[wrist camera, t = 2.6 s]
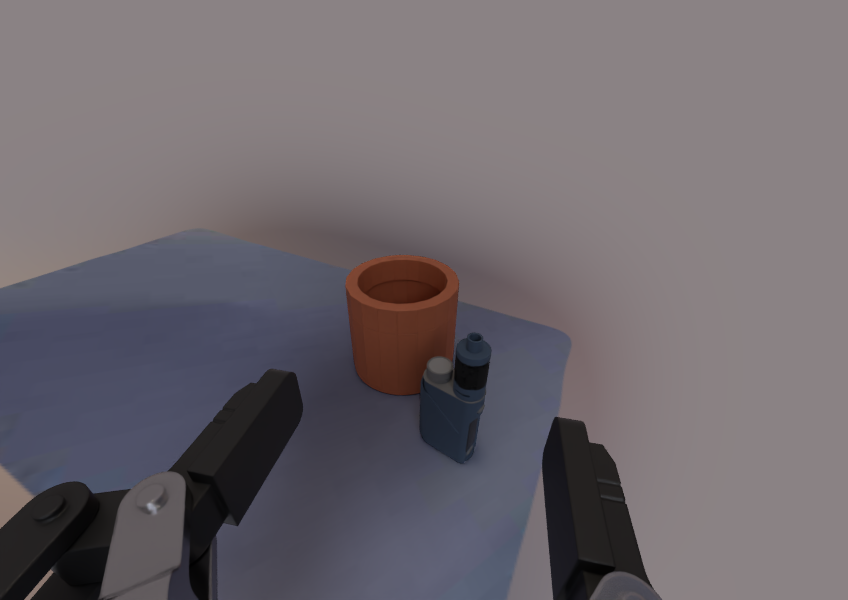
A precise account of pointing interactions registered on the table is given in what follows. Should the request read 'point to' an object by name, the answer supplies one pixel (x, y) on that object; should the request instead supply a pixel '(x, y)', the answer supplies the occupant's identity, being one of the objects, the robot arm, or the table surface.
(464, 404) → the vaping device
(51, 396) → the table surface
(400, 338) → the terracotta planter pot
